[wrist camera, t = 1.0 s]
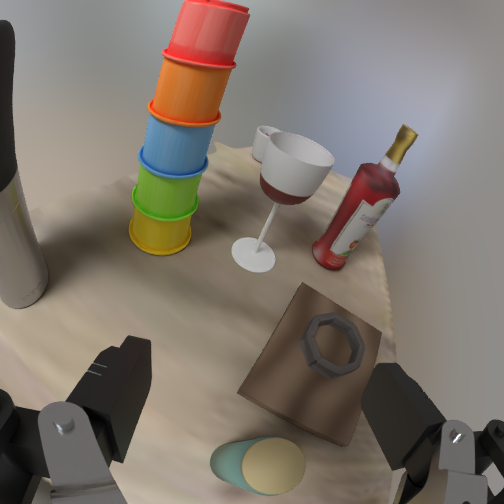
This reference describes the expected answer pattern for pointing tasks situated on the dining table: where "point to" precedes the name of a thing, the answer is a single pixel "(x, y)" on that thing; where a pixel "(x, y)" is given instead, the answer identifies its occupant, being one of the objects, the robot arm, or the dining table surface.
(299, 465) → the teal cylinder
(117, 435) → the robot arm
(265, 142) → the cup
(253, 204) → the dining table surface
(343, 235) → the liquor
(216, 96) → the stacking cups
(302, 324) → the lamp base
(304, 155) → the wineglass
